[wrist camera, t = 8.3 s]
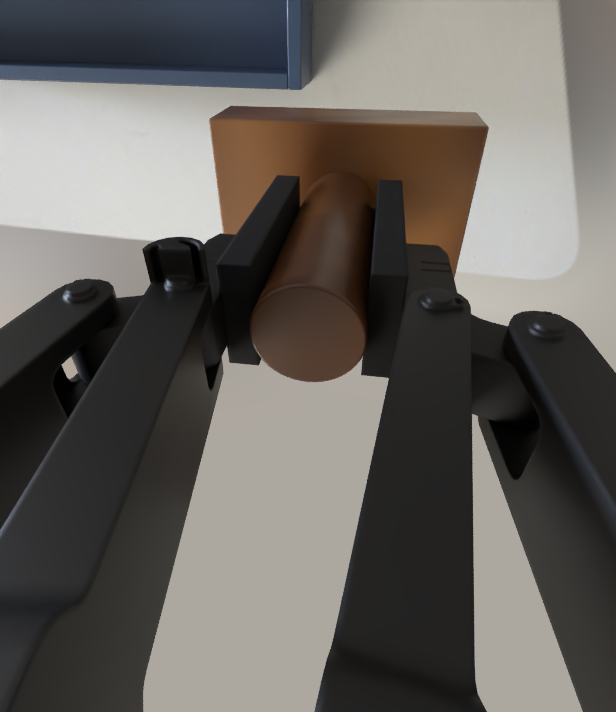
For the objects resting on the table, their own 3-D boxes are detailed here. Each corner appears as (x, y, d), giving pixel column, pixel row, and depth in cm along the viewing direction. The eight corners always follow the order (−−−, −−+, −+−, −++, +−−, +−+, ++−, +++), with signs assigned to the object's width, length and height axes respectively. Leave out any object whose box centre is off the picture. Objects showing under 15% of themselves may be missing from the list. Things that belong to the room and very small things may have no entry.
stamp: (471, 105, 17) (574, 225, 7) (443, 244, 20) (488, 446, 11) (240, 99, 18) (72, 198, 8) (251, 233, 21) (141, 408, 12)
